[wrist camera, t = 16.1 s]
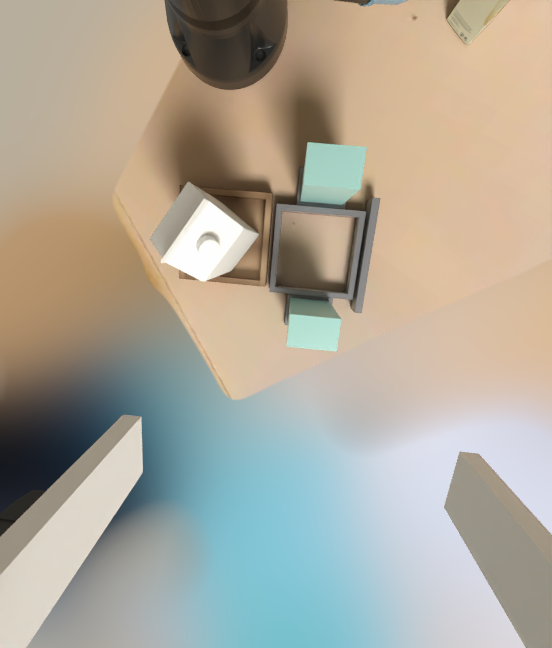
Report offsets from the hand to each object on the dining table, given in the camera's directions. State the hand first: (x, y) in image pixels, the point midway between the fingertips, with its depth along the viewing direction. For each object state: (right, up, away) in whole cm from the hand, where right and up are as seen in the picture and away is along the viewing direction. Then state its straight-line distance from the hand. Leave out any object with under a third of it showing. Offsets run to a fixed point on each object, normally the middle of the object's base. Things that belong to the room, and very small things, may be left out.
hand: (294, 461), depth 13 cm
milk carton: (-8, +19, +33) cm, 39 cm away
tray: (-8, +19, +34) cm, 39 cm away
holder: (+5, +17, +33) cm, 38 cm away
